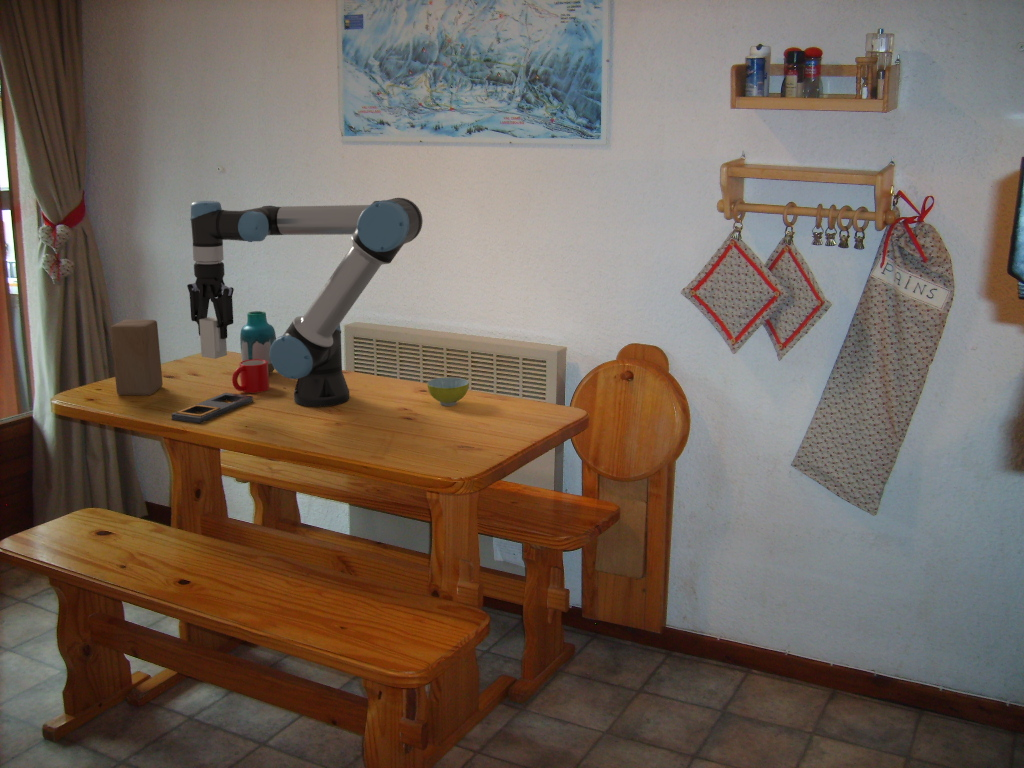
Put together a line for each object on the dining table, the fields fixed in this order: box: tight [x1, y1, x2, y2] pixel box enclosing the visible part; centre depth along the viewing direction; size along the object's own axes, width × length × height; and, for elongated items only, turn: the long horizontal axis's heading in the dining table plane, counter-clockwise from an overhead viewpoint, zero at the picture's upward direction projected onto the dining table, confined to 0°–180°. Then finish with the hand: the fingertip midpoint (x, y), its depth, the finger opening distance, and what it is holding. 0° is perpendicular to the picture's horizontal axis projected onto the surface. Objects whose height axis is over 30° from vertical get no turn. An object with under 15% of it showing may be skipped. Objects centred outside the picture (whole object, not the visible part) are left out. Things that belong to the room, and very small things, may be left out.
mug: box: [231, 359, 270, 393], centre depth 278 cm, size 8×12×8 cm, turn 150°
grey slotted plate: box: [171, 392, 254, 424], centre depth 259 cm, size 9×22×2 cm, turn 158°
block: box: [110, 318, 163, 396], centre depth 274 cm, size 10×10×20 cm
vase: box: [239, 310, 277, 374], centre depth 293 cm, size 11×11×19 cm
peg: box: [199, 316, 228, 360], centre depth 257 cm, size 5×5×10 cm
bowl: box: [426, 377, 470, 407], centre depth 266 cm, size 11×12×6 cm
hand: (213, 349), depth 258 cm, fingers closed on peg, 5 cm apart
